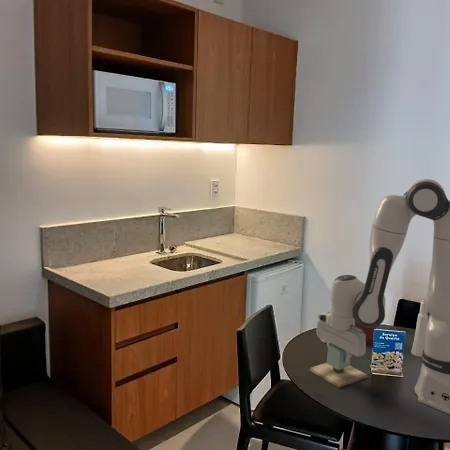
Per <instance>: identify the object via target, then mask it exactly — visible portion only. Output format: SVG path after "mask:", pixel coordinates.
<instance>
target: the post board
mask: <svg viewBox="0 0 450 450" xmlns="http://www.w3.org/2000/svg"><path fill="white" fill-rule="evenodd" d="M309 371H310V372H312V373H313V374H315V375H317V376H318V377H320V378H321V379H323V380H325V381H326V382H328V383H330V384H332V385H334V386H335V387H337V388H338V389H339V388H342V387H344V386H345V387H346V386H347V385H350V384H353V383H355V382H358V381H361V380H363V379H366V378H368V374H367V373H365V372H363V371H362V370H359V369H358V368H355V367H354V366H352V365H350V366H348V367H346V368H343V369H340V370H338V369H336V368H334V367H332V366H330V365H329V364H327V361H326V362H324V363H321V364H318V365H315V366H312V367H309Z"/></svg>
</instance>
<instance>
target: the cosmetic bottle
mask: <svg viewBox="0 0 450 450" xmlns="http://www.w3.org/2000/svg"><path fill="white" fill-rule="evenodd" d="M426 301H427V299H421V302H420V308H419V313H418V315H417V319H416V320H417V321H416V328H415V332H414V339H413V343H412V347H411V350H410V353H411V355H413V356H415V357H419V358H422V353H423V350H424V347H425V338H426V329H427V325H428V321H429V312H428V310H427V306H426Z"/></svg>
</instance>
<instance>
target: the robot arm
mask: <svg viewBox="0 0 450 450" xmlns="http://www.w3.org/2000/svg"><path fill="white" fill-rule="evenodd" d="M415 216H419V217H421V218H426V219H429V220H431V221H433V241H432V257H431V258H432V259H431V265H430V266H431V267H430V273H429V278H428V286H427V292H426V293H427V294H426V300H427V301H426V306H427V310H428V325H427V329H426V338H425V347H424V350H423V353H422V357H421V360H420V361H421V368H420V373H419V376H418V379H417V382H416V384H415V386H414V388H413V389H414V393H415V394H416V395H417V401H418V402H420V403H421V404H424V405H426V406H429V407H431V408H433V409H435V410H439V411H441V412H444V413H446V414H448V415H450V200H449V199H448V197H447V195H446V192H445V189H444V187H443V186H442V185H441V183H439V182H437V181H436V180H434V179H430V178H429V179H426V178H425V179H420V180H418V181H416V182H414V183H413V184H412V185H411V186H410V188H409V189H408V190H406V192H404V194H403V195H397V194H391V195H387V196H384V197H383V198H382V199H381V200H380V203H379V205H378V207H377V210H376V212H375V214H374V216H373V217H374V218H373V221H372V225H371V228H370V233H369V266H368V271H367V276H366V280H365V283H364V282H363V281H361V280H360V279H359V278H358V277H357V276H355V275H351V274H343V275H339V276H337V277H336V278H335V279H334V280H333V282H332V286H331V292H330V303H331V305H330V308H329V311H323V312H324V313H322V312H320V313H318V315H317V318H318V321H317V322H316V336H317V337H318V338H319V339H320V338H321V339H323V340H325V341H327V343H326V346H327V348H328V346H330V345H335V346H337V347H339V348H341V349H343V350H345V351H346V354H347V356H346V357H343V361H344V362H346V363H349V362H350V363H351V358H352V356H355V357H357V358H358V357H362V356H364V355H365V354H366V352H367V344H366V340H365V337H366V336H365V334H364V332H363V330H361V329H359V328H357V327H355V321H356V322H357V323H358V324H359V325H361V326H363V327H366V328H374V327H377V326H378V327H379V326H380V325H382V324H383V322H384V320H385V318H386V297H385V292H386V288H387V284H388V281H389V276H390V272H391V270H392V268H393V265H394V263H395V262H396V260H397V258H398V257H399V254H400V253H401V250H402V248H403V247H404V246H403V245H404V242H405V241H406V237H407V234H408V230H409V226H410V223H411V221H412V219H413V218H414V217H415ZM321 339H320V340H321Z"/></svg>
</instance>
